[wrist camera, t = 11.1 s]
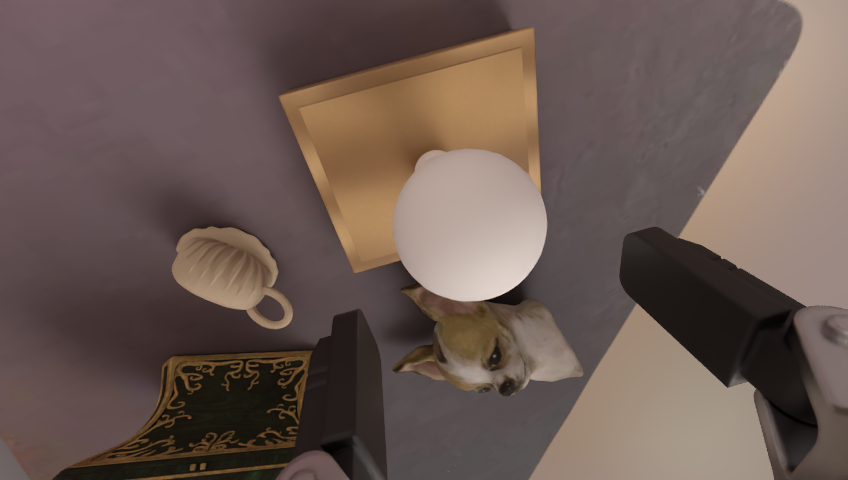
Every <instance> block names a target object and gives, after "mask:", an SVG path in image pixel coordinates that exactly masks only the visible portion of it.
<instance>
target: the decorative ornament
mask: <svg viewBox="0 0 848 480" xmlns="http://www.w3.org/2000/svg"><path fill="white" fill-rule="evenodd" d="M176 250H177V252H178V253H179V254H178V256H177V258H176V259H175V261H174V263H173V265H172V273H173V276H174V278H175V280H176V281H177V282H178V283H179V284H180V285H181V286H182V287H183V288H185V289H186V290H188V291H190V292H191V293H193V294H195V295H197V296H199V297H201V298H203V299H206V300H208V301H211V302H214V303H216V304H219V305H222V306H224V307H228V308H234V309H242V310H246V311H247V313H248V314H249V316H250V317H251V318H252V319H253V320H254V321H255V322H256V323H258V324H260V325H261V326H264V327H266V328H270V329H280V328H283V327H285V326H287V325H288V324H289V323H290V321H291V319H292V316H293V310H292V306H291V304H290V302H289V300H288V299H287V298H286V297H285V296H284V295H283V294H282V293H281V292H279V291H277V290H276V289H274V288H271V287H272V286H273V285H274V283H275V282H276V278H277V275H278V269H277V266H276V261H275V260H274V259H273V258H272V257H271V255H270V252H269V250H268V249H267V248H266V247H264V246H263V245H262V243H261V242H260V241H259V240H258V239H257V238H256V237H255V236H253V235H250V234H247V233H245V232H243V231H241V230H239V229H236V228H232V227H228V228H221V229H219V228H216V227H213V226H210V227H208V228H206V229H198V228H196V229H193V230H191V231H190V232H188V233H186V234H185V235H183V236H182V237H181V238H180V240H179V242H178V245H177V249H176ZM265 295H269V296H271V297H273V298H274V299H276V300H277V301H278V302H279V303H280V304H281V305H282V306H283V308H284V311H285V316H284V318H283V319H282V320H281V321H271V320H269V319H267V318H265V317H264V316H262V315H261V314H260V313H259V311H258V310H257V308H256V305H257V304H258V303H259V302H260V301H261V300H262V298H263V297H264V296H265Z"/></svg>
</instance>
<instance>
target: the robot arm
mask: <svg viewBox="0 0 848 480" xmlns="http://www.w3.org/2000/svg"><path fill="white" fill-rule="evenodd" d="M620 281H621V284H622V287H623V288H624V290H625V292H626V293H627V294H628V295H629V296H630V297H631V298H632V299H633V300H634V301H635V302H636V303H637V304H639V305H640V306H641V307H642V308H643V309H644V310H645V311H646V312H647V313H648V314H649V315H650V316H652V317H653V318H654V319H655V320H656V321H657V322H658V323H659V324H660V325H661V326H662V327H663V328H664V329H665V330H666V331H667V332H669V333H670V334H671V335H672V336H673V337H674V338H675V339H676V340H677V341H678V342H679V343H680V344H681V345H682V346H683V347H685V348H686V349H687V350H688V351H689V352H690V353H691V354H692V355H693V356H694V357H695V358H696V359H697V360H698V361H700V362H701V363H702V364H703V365H704V366H705V367H706V368H707V369H708V370H709V371H710V372H711V373H712V374H714V375H715V376H716V377H717V378H718V379H719V380H720V381H721V382H722V383H723V384H724V385H725V386H726V387H727V388H728V387H731V386H735V385H738V384H742V383H745V382H749V383H751V384H752V385H753V386H754V387H755V388H756V390H755V392H754V402H755V405H756V409H757V412H758V417H759V421H760V425H761V428H762V432H763V436H764V440H765V443H766V447H767V451H768V455H769V459H770V462H771V466H772V470H773V475H774V480H848V310H847V309H843V308H838V307H832V306H809V307H806V306H804V305H803V304H801V303H799V302H797V301H796V300H794V299H792V298H791V297H789V296H787V295H785V294H784V293H782V292H780V291H779V290H777V289H775V288H773V287H772V286H770V285H768V284H767V283H765V282H763V281H762V280H760V279H758V278H756V277H755V276H753V275H751V274H749V273H748V272H746V271H744V270H743V269H741V268H740V269H738V268H737V267H736V265H734V264H733V263H731V262H729V261H727V260H726V259H721V256H719V255H717V254H715V253H714V252H712V251H710V250H709V249H707V248H705V247H704V246H702V245H699V244H695V243H693V242H690V241H686V240H683V239H680V238H678V239H677V238H675V237H674V236H672V235H670V234H669V233H667V232H665V231H664V230H662V229H660V228H658V227H651V228H647V229H644V230H640V231H637V232H633V233H630V234H627V235H626V236H625V238H624V241H623V249H622V257H621V266H620ZM307 373H308V376H307V378H306V384H305V392H304V395H303V401H302V407H301V413H300V419H299V424H298V430H297V436H296V442H295V448H294V452H293V457H292V459H291V462H289V463H288V464H287V465H286V466H285V467H284V469H283V470H282V471H281V472H280V474H279V475H278V476H277V478H276V480H388V479H387V461H386V443H385V425H384V408H383V390H382V372H381V360H380V354H379V350H378V347H377V344H376V341H375V339H374V337H373V335H372V332H371V330H370V328H369V326H368V323H367V321H366V319H365V317H364V314H363V312H362V311H361V309H357V310H353V311H350V312H346V313H343V314H339V315H336V316H334V318H333V324H332V333H331V336H328V337H325V338H321V339H320V340H319V341H318V343H317V345H316V347H315V348H314V350H313V352H312V354H311V355H310V360H309V366H308V372H307Z"/></svg>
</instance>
